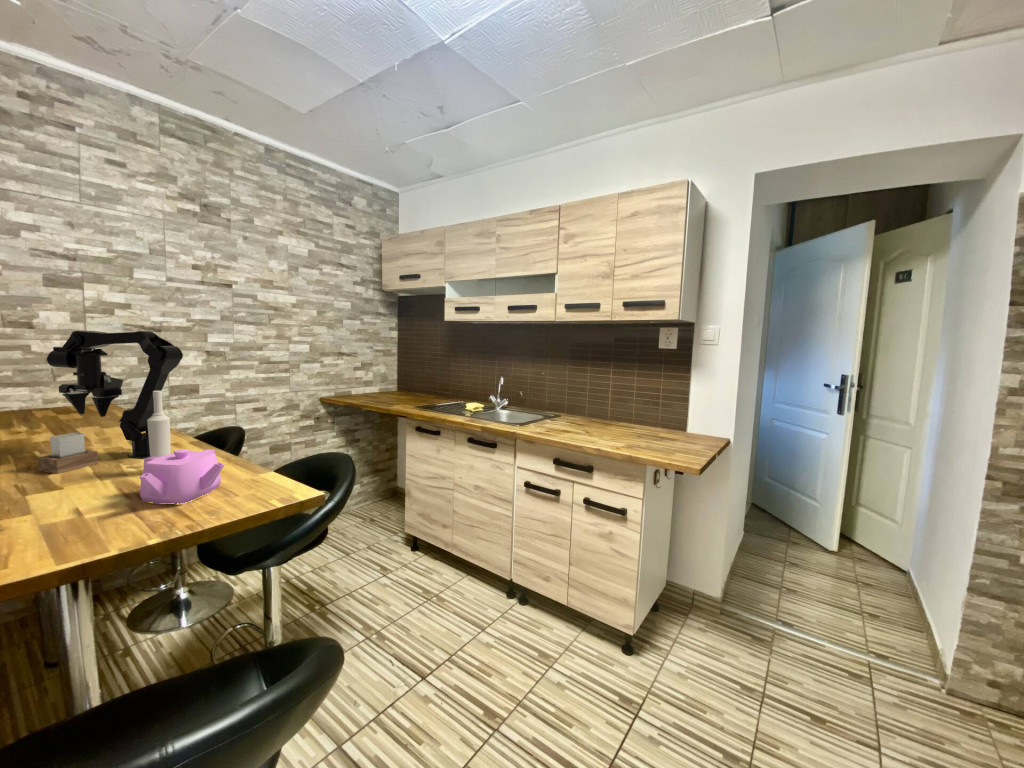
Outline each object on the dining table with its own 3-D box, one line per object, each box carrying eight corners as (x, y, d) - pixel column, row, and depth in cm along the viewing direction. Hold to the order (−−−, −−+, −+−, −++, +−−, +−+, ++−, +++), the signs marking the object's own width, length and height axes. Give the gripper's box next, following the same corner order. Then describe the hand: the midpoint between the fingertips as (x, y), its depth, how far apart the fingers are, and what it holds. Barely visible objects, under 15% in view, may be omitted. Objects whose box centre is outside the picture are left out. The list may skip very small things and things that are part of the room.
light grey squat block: (86, 461, 125) (84, 433, 124) (61, 467, 119) (58, 438, 118) (77, 460, 126) (75, 432, 125) (52, 466, 120) (49, 436, 119)
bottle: (145, 472, 121) (141, 391, 118) (165, 468, 126) (161, 389, 123) (156, 475, 120) (152, 393, 117) (176, 470, 125) (172, 391, 122)
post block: (98, 463, 127) (97, 451, 126) (57, 473, 117) (56, 460, 117) (80, 461, 128) (79, 448, 128) (39, 470, 119) (38, 457, 118)
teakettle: (216, 479, 120) (214, 438, 119) (227, 497, 108) (225, 452, 107) (138, 492, 108) (136, 447, 107) (141, 514, 96) (138, 464, 95)
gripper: (138, 369, 139) (141, 413, 140) (97, 365, 142) (99, 408, 144) (99, 371, 128) (102, 419, 130) (55, 367, 132) (59, 414, 133)
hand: (92, 415), depth 135 cm, fingers open, 9 cm apart
